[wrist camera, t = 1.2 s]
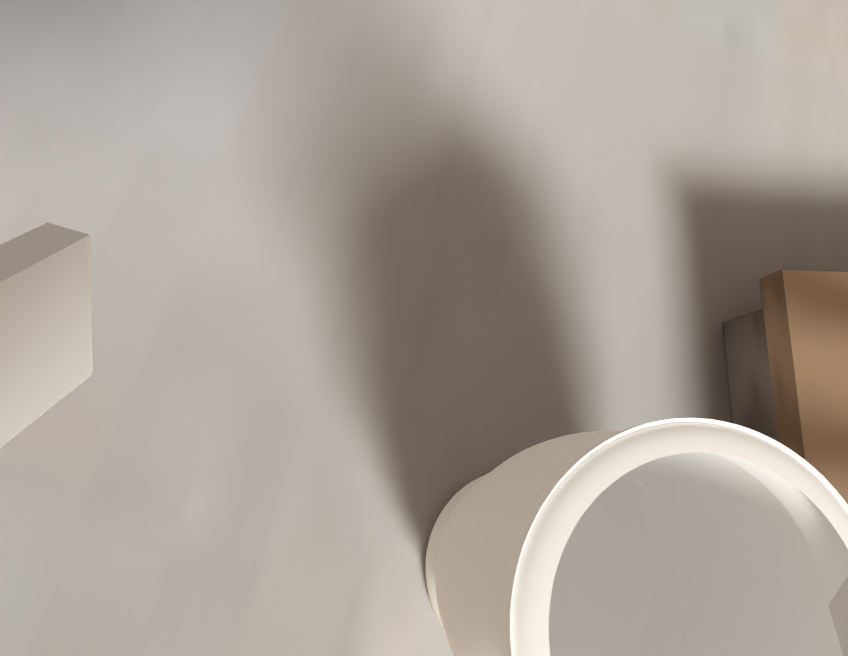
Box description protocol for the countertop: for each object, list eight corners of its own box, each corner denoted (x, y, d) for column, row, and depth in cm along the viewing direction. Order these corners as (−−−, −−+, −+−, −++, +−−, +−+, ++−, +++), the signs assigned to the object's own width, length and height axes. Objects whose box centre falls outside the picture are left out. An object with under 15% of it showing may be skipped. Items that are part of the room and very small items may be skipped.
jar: (348, 589, 31) (420, 678, 17) (495, 397, 34) (664, 333, 20) (544, 751, 31) (780, 977, 17) (673, 547, 34) (968, 592, 20)
